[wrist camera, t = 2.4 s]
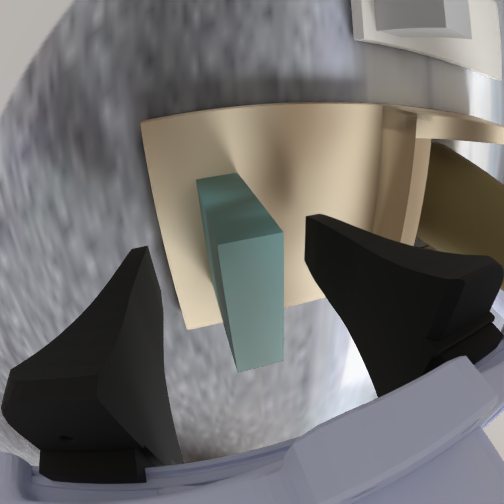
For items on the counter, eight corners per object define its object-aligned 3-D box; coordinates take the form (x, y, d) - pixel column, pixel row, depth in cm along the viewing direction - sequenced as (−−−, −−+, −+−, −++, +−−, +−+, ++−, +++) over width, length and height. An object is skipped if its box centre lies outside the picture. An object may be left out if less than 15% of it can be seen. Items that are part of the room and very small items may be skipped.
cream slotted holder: (472, 116, 13) (547, 145, 9) (447, 251, 19) (501, 297, 14) (141, 120, 10) (118, 152, 5) (185, 319, 15) (202, 415, 11)
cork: (395, 249, 17) (518, 375, 8) (386, 160, 14) (572, 282, 5) (457, 212, 17) (572, 305, 8) (456, 131, 14) (609, 213, 5)
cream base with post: (487, 2, 9) (544, 8, 5) (492, 79, 12) (550, 95, 8) (341, -66, 7) (408, -98, 3) (353, 39, 10) (433, 35, 6)
